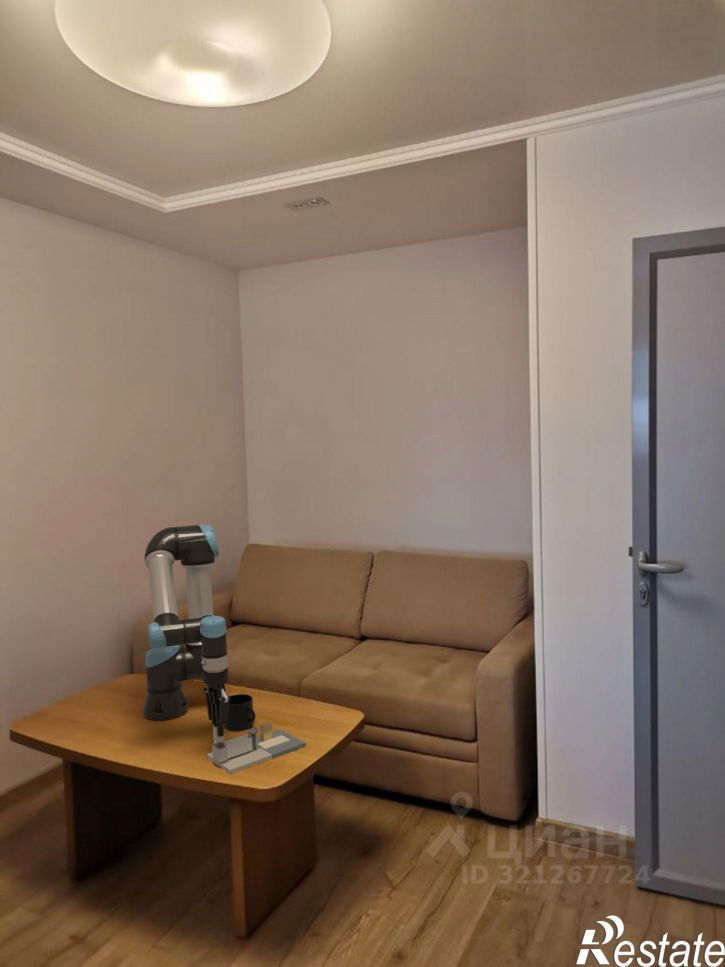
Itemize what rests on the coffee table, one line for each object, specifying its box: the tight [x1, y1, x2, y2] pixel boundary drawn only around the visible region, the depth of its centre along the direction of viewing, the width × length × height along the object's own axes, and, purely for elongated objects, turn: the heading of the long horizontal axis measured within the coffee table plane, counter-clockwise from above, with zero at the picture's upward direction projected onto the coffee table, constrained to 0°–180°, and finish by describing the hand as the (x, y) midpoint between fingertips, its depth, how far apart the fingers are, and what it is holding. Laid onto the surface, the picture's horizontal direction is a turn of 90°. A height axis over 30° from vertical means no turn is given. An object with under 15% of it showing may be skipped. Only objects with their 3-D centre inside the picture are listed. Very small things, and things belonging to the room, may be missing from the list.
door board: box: [206, 727, 306, 775], centre depth 221 cm, size 14×26×7 cm, turn 129°
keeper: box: [259, 721, 273, 742], centre depth 227 cm, size 2×3×5 cm
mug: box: [224, 693, 256, 732], centre depth 241 cm, size 9×12×9 cm
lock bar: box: [211, 733, 253, 763], centre depth 216 cm, size 11×4×4 cm, turn 129°
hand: (219, 745), depth 221 cm, fingers closed
